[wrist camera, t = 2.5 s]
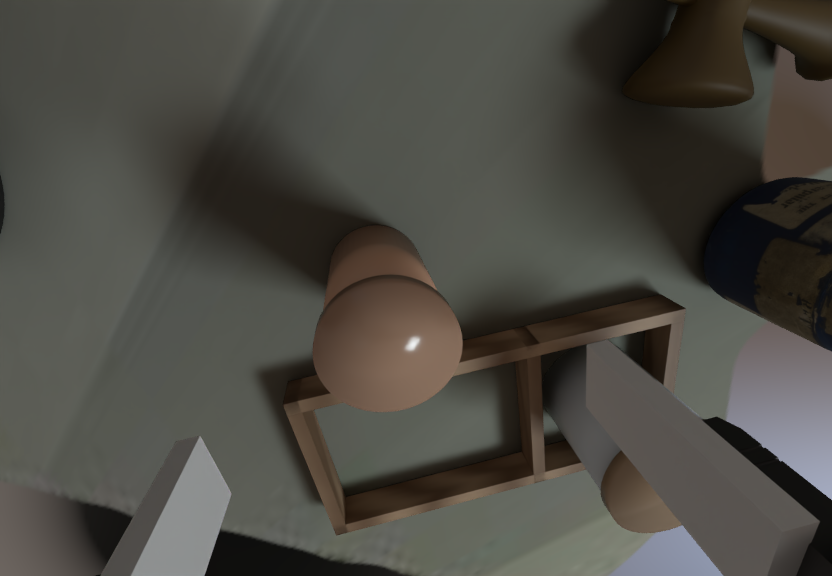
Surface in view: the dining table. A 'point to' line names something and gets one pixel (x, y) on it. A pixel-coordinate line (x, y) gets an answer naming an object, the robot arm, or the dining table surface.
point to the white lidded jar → (602, 448)
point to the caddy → (535, 459)
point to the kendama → (730, 50)
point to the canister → (778, 256)
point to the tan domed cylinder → (384, 325)
